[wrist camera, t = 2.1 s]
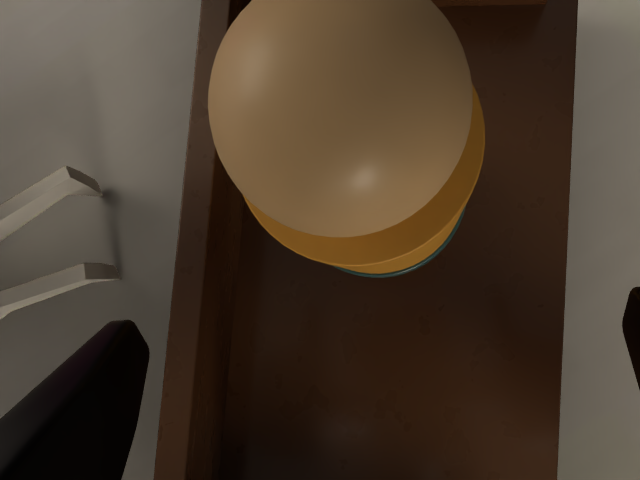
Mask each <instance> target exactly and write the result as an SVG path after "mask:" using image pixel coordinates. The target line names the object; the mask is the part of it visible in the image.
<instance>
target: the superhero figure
mask: <svg viewBox="0 0 640 480" xmlns="http://www.w3.org/2000/svg"><path fill="white" fill-rule="evenodd" d="M67 195H86V196H100V197H102V196H103V195H102V193H101V190H100V188H99V185H98V183H97V182H96V181H95V179H93V178H91V177H89V176H87V175H86V174H84V173H82V172H80V171H78V170H75V169H73V168H70V167H68V166H64V167H62V168H60V169H59V170H57V171H55V172H54V173H52V174H51V175H49V176H47V177H46V178H44V179H42V180H41V181H39V182H37V183H36V184H34V185H32V186H31V187H29V188H27V189H26V190H24V191H22V192H21V193H19V194H17V195H16V196H14V197H12V198H11V199H9V200H7V201H6V202H4V203H2V204H1V205H0V242H1V241H2V240H4V239H5V238H6V237H8V236H9V235H11V234H12V233H14V232H15V231H16V230H18V229H19V228H21V227H22V226H24V225H25V224H26V223H28V222H29V221H31V220H32V219H34V218H35V217H37V216H38V215H39V214H41V213H42V212H44V211H45V210H47V209H48V208H49V207H51V206H52V205H54V204H55V203H57V202H58V201H59V200H61V199H62V198H64V197H65V196H67ZM120 279H121V278H120V276H119V274H118V271H117V269H116V267H115V266H113V265H109V264H103V263H82V264H79V265H76V266H73V267H70V268H68V269H65V270H62V271H59V272H56V273H53V274H50V275H47V276H44V277H41V278H38V279H35V280H32V281H29V282H26V283H24V284H21V285H18V286H15V287H11V288H8V289H5V290H2V291H0V320H1V319H2V318H3V317H5V316H6V315H7V314H8V313H10V312H11V311H14V310H17V309H19V308H22V307H25V306H28V305H30V304H33V303H36V302H39V301H42V300H44V299H47V298H50V297H53V296H55V295H58V294H61V293H64V292H66V291H69V290H72V289H75V288H78V287H80V286H83V285H86V284H89V283H93V282H102V281H111V280H120Z"/></svg>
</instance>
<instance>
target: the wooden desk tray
mask: <svg viewBox="0 0 640 480" xmlns="http://www.w3.org/2000/svg"><path fill="white" fill-rule="evenodd" d="M251 1H252V0H202V2H201V12H200V22H199V32H198V42H197V52H196V62H195V72H194V82H193V92H192V102H191V112H190V122H189V132H188V142H187V152H186V162H185V172H184V182H183V191H182V201H181V211H180V221H179V231H178V241H177V251H176V261H175V271H174V281H173V291H172V301H171V311H170V321H169V331H168V341H167V351H166V361H165V371H164V381H163V391H162V401H161V411H160V421H159V430H158V440H157V450H156V460H155V470H154V480H557V467H558V444H559V422H560V399H561V376H562V354H563V331H564V308H565V285H566V263H567V240H568V217H569V195H570V172H571V149H572V127H573V104H574V81H575V58H576V36H577V13H578V0H431V1H432V2H433V3H434V4H435V5H436V7H437V8H438V9H439V10H440V11H441V12H442V13H443V15H444V16H445V17H446V18H447V20H448V21H449V23H450V24H451V26H452V27H453V29H454V30H455V32H456V34H457V36H458V38H459V40H460V43H461V45H462V47H463V50H464V53H465V56H466V59H467V63H468V66H469V69H470V75H471V81H472V83H473V86H474V88H475V90H476V92H477V94H478V98H479V101H480V104H481V107H482V111H483V118H484V124H485V149H484V156H483V162H482V166H481V170H480V174H479V177H478V180H477V182H476V184H475V187H474V189H473V192H472V194H471V196H470V198H469V200H468V202H467V204H466V207H465V211H464V215H463V217H462V220H461V222H460V224H459V227H458V228H457V230H456V232H455V234H454V235H453V237H452V239H451V240H450V241H449V243H448V244H447V245H446V247H445V248H444V249H443V250H442V251H441V252H440V253H439V254H438V255H437V256H436V257H435V258H433V259H432V260H431V261H429V262H428V263H427V264H425V265H423V266H421V267H420V268H418V269H416V270H413V271H411V272H408V273H406V274H402V275H398V276H394V277H386V278H371V277H364V276H358V275H354V274H351V273H347V272H345V271H342V270H340V269H338V268H335V267H334V266H332V265H329V264H325V263H322V262H318V261H315V260H311V259H309V258H307V257H304V256H302V255H300V254H297V253H296V252H294V251H292V250H291V249H289V248H287V247H286V246H284V245H283V244H281V243H280V242H279V241H278V240H276V239H275V238H274V237H273V236H271V235H270V234H269V233H268V231H267V230H266V229H265V228H264V227H263V226H262V225H261V224H260V223H259V221H258V220H257V219H256V217H255V216H254V214H253V213H252V212H251V210H250V208H249V206H248V204H247V203H246V201H245V199H244V197H243V194H242V193H241V192H240V191H239V189H238V188H237V186H236V185H235V184H234V182H233V181H232V179H231V178H230V176H229V175H228V173H227V171H226V169H225V168H224V166H223V164H222V162H221V160H220V158H219V155H218V153H217V150H216V147H215V145H214V141H213V136H212V132H211V127H210V122H209V113H208V90H209V84H210V78H211V72H212V67H213V64H214V60H215V57H216V54H217V51H218V49H219V47H220V44H221V42H222V40H223V38H224V36H225V34H226V33H227V31H228V29H229V27H230V26H231V24H232V23H233V22H234V20H235V19H236V18H237V16H238V15H239V14H240V12H241V11H242V10H243V9H244V8H245V7H246V6H247V5H248V4H249V3H250V2H251Z"/></svg>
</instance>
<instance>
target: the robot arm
mask: <svg viewBox="0 0 640 480" xmlns="http://www.w3.org/2000/svg"><path fill="white" fill-rule="evenodd" d="M622 327H623V333H624V337H625V341H626V344H627V348H628V351H629V355H630V358H631V361H632V365H633V368H634V372H635V375H636V379H637V382H638V386H639V389H640V287H635V288H633V289H632V290H631V291H630V294H629V297H628V301H627V305H626V309H625V313H624V317H623V322H622ZM148 363H149V348H148V345H147V343H146V341H145V340H144V338H143V336H142V335H141V333H140V331H139V330H138V328H137V326H136V325H135V323H134V322H132V321H131V320H118V321H111V322H109V323H108V324H106V325H105V326H104V327H103V328H102V329H101V330H100V331H99V332H97V333H96V334H95V335H94V336H93V337H92V338H91V339H90V340H88V341H87V342H86V343H85V344H84V345H83V346H82V347H81V348H79V349H78V350H77V351H76V352H75V353H74V354H73V355H72V356H70V357H69V358H68V359H67V360H66V361H65V362H64V363H62V364H61V365H60V366H59V367H58V368H57V369H56V370H55V371H53V372H52V373H51V374H50V375H49V376H48V377H47V378H46V379H44V380H43V381H42V382H41V383H40V384H39V385H38V386H37V387H35V388H34V389H33V390H32V391H31V392H30V393H29V394H28V395H26V396H25V397H24V398H23V399H22V400H21V401H20V402H19V403H17V404H16V405H15V406H14V407H13V408H12V409H11V410H10V411H8V412H7V413H6V414H5V415H4V416H3V417H2V418H1V419H0V480H121V478H122V475H123V472H124V468H125V465H126V462H127V458H128V455H129V451H130V448H131V445H132V441H133V438H134V434H135V430H136V426H137V421H138V417H139V411H140V406H141V400H142V395H143V390H144V384H145V379H146V373H147V368H148Z"/></svg>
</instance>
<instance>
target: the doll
mask: <svg viewBox="0 0 640 480" xmlns="http://www.w3.org/2000/svg"><path fill="white" fill-rule="evenodd" d="M208 113H209V122H210V127H211V132H212V136H213V141H214V145H215V147H216V150H217V153H218V155H219V158H220V160H221V162H222V164H223V166H224V168H225V169H226V171H227V173H228V175H229V176H230V178H231V179H232V181H233V182H234V184H235V185H236V186H237V188H238V189H239V191H240V192H241V193H242V194H243V197H244V199H245V201H246V203H247V204H248V206H249V208H250V210H251V212H252V213H253V214H254V216H255V217H256V219H257V220H258V221H259V223H260V224H261V225H262V226H263V227H264V228H265V229H266V230H267V231H268V233H269V234H270V235H271V236H273V237H274V238H275V239H276V240H278V241H279V242H280V243H281V244H283V245H284V246H286V247H287V248H289V249H291V250H292V251H294V252H296V253H297V254H300V255H302V256H304V257H307V258H309V259H311V260H315V261H318V262H322V263H325V264H329V265H332V266H334V267H335V268H338V269H340V270H342V271H345V272H347V273H351V274H354V275H358V276H364V277H371V278H386V277H394V276H398V275H402V274H406V273H408V272H411V271H413V270H416V269H418V268H420V267H421V266H423V265H425V264H427V263H428V262H429V261H431V260H432V259H433V258H435V257H436V256H437V255H438V254H439V253H440V252H441V251H442V250H443V249H444V248H445V247H446V245H447V244H448V243H449V241H450V240H451V239H452V237H453V235H454V234H455V232H456V230H457V228H458V227H459V224H460V222H461V220H462V217H463V215H464V211H465V207H466V204H467V202H468V200H469V198H470V196H471V194H472V192H473V189H474V187H475V184H476V182H477V180H478V177H479V174H480V170H481V166H482V162H483V156H484V149H485V124H484V118H483V111H482V107H481V104H480V101H479V98H478V94H477V92H476V90H475V88H474V86H473V83H472V81H471V75H470V69H469V66H468V63H467V59H466V56H465V53H464V50H463V47H462V45H461V43H460V40H459V38H458V36H457V34H456V32H455V30H454V29H453V27H452V26H451V24H450V23H449V21H448V20H447V18H446V17H445V16H444V15H443V13H442V12H441V11H440V10H439V9H438V8H437V7H436V5H435V4H434V3H433V2H432V1H431V0H252V1H251V2H250V3H249V4H248V5H247V6H246V7H245V8H244V9H243V10H242V11H241V12H240V14H239V15H238V16H237V18H236V19H235V20H234V22H233V23H232V24H231V26H230V27H229V29H228V31H227V33H226V34H225V36H224V38H223V40H222V42H221V44H220V47H219V49H218V51H217V54H216V57H215V60H214V64H213V67H212V72H211V78H210V84H209V90H208Z"/></svg>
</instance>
